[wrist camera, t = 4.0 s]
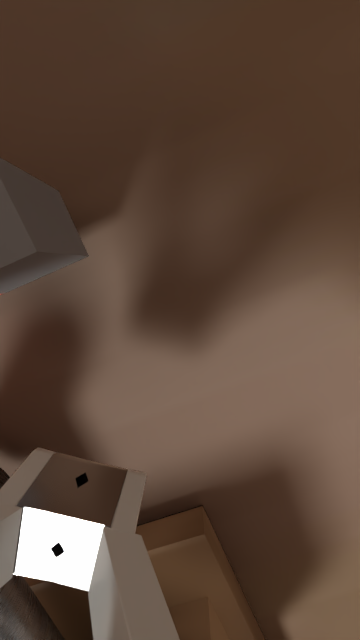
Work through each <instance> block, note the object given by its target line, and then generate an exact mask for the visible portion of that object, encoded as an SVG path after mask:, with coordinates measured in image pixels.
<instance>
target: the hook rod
mask: <svg viewBox="0 0 360 640" xmlns="http://www.w3.org/2000/svg"><path fill="white" fill-rule="evenodd" d="M9 478H10V477H9V476H8V475H7V473H6V472H5V471H4V470H2V469H1V468H0V489H1V488H2V487H3V485H4V484H5V483H6V482H7V481H8V479H9ZM0 640H65V639H64V637H63V636H62V634H61V633H60V631H59V630H58V628H57V627H56V625H55V624H54V622H53V621H52V619H51V618H50V616H49V615H48V613H47V612H46V610H45V609H44V607H43V606H42V604H41V603H40V601H39V600H38V598H37V597H36V595H35V594H34V592H33V591H32V589H31V588H30V586H29V585H28V583H27V582H26V580H25V579H24V577H23V576H20V575H14V574H13V577H12V578H11V579H10V580H9V581H8V582H7V583H6V584H5V585H3V586H2V587H1V588H0Z"/></svg>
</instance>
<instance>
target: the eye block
mask: <svg viewBox="0 0 360 640" xmlns="http://www.w3.org/2000/svg"><path fill="white" fill-rule="evenodd" d="M135 534H138V535H141V536H142V538H143V541H144V544H145V547H146V549H147V552H148V555H149V557H150V560H151V563H152V566H153V568H154V571H155V574H156V576H157V579H158V582H159V585H160V587H161V590H162V593H163V595H164V598H165V601H166V604H167V606H168V609H169V612H170V614H171V617H172V620H173V623H174V625H175V628H176V631H177V633H178V636H179V639H180V640H265V638H264V636H263V634H262V632H261V630H260V628H259V626H258V623H257V621H256V619H255V617H254V615H253V613H252V611H251V608H250V606H249V604H248V602H247V600H246V598H245V596H244V594H243V591H242V589H241V587H240V585H239V583H238V581H237V579H236V576H235V574H234V572H233V570H232V568H231V566H230V564H229V561H228V559H227V557H226V555H225V553H224V551H223V549H222V546H221V544H220V542H219V540H218V538H217V536H216V534H215V531H214V529H213V527H212V525H211V523H210V521H209V519H208V517H207V514H206V512H205V510H204V508H203V506H201V507H197V508H194V509H191V510H188V511H185V512H181V513H178V514H175V515H172V516H169V517H165V518H162V519H159V520H156V521H153V522H149V523H146V524H143V525H140V526H137V527H136V532H135ZM23 577H24V579H25V580H26V582H27V583H28V585H29V586H30V588H31V589H32V591H33V592H34V594H35V595H36V597H37V598H38V600H39V601H40V603H41V604H42V606H43V607H44V609H45V610H46V612H47V613H48V615H49V616H50V618H51V619H52V621H53V622H54V624H55V625H56V627H57V628H58V630H59V631H60V633H61V634H62V636H63V637H64V639H65V640H93V632H92V623H91V615H90V606H89V597H88V592H89V591H85V590H81V589H78V588H74V587H70V586H66V585H63V584H59V583H55V582H51V581H46V580H41V579H36V578H30V577H25V576H23Z"/></svg>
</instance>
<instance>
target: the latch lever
mask: <svg viewBox="0 0 360 640" xmlns="http://www.w3.org/2000/svg"><path fill="white" fill-rule="evenodd" d="M88 256H89V255H88V253H87V251H86V249H85V247H84V245H83V242H82V240H81V238H80V236H79V234H78V232H77V230H76V227H75V225H74V223H73V221H72V219H71V217H70V215H69V212H68V210H67V208H66V206H65V204H64V202H63V199H62V197H61V195H60V193H59V191H58V190H56V189H54V188H53V187H51V186H49V185H47V184H46V183H44V182H42V181H40V180H39V179H37V178H35V177H33V176H32V175H30V174H28V173H26V172H25V171H23V170H21V169H19V168H18V167H16V166H14V165H12V164H11V163H9V162H7V161H5V160H4V159H2V158H0V295H2V294H4V293H6V292H9V291H11V290H13V289H15V288H18V287H20V286H22V285H25V284H27V283H29V282H31V281H34V280H36V279H38V278H40V277H43V276H45V275H47V274H49V273H52V272H54V271H56V270H59V269H61V268H63V267H65V266H68V265H70V264H72V263H74V262H77V261H79V260H81V259H83V258H86V257H88Z"/></svg>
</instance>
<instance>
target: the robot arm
mask: <svg viewBox="0 0 360 640" xmlns="http://www.w3.org/2000/svg"><path fill="white" fill-rule="evenodd" d="M146 477H147V475H146V473H145V472H140V471H135V470H131V469H125V468H121V467H117V466H112V465H108V464H103V463H99V462H95V461H90V460H86V459H82V458H78V457H75V456H71V455H67V454H63V453H60V452H54V451H50V450H46V449H43V448H39V447H38V448H36V449H35V450H33V451H32V452H31V453H30V455H29V456H28V457H27V458H26V459H25V460H24V462H23V463H22V464H21V465H20V466H19V468H18V469H17V470H16V471H15V472H14V474H13V475H12V476H11V477H10V478H9V479H8V481H7V482H6V483H5V484H4V485H3V487H2V488H1V489H0V588H1V587H2V586H3V585H5V584H6V583H7V582H8V581H9V580H10V579H11V578H12V577H13V574H14V575H20V576H25V577H30V578H36V579H41V580H46V581H51V582H55V583H59V584H63V585H66V586H70V587H74V588H78V589H81V590H85V591H89V592H88V597H89V606H90V615H91V623H92V632H93V640H180V639H179V636H178V633H177V631H176V628H175V625H174V623H173V620H172V617H171V614H170V612H169V609H168V606H167V604H166V601H165V598H164V595H163V593H162V590H161V587H160V585H159V582H158V579H157V576H156V574H155V571H154V568H153V566H152V563H151V560H150V557H149V555H148V552H147V549H146V547H145V544H144V541H143V538H142V536H141V535H138V534H135V532H136V527H137V522H138V517H139V512H140V507H141V502H142V497H143V492H144V487H145V482H146Z"/></svg>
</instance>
